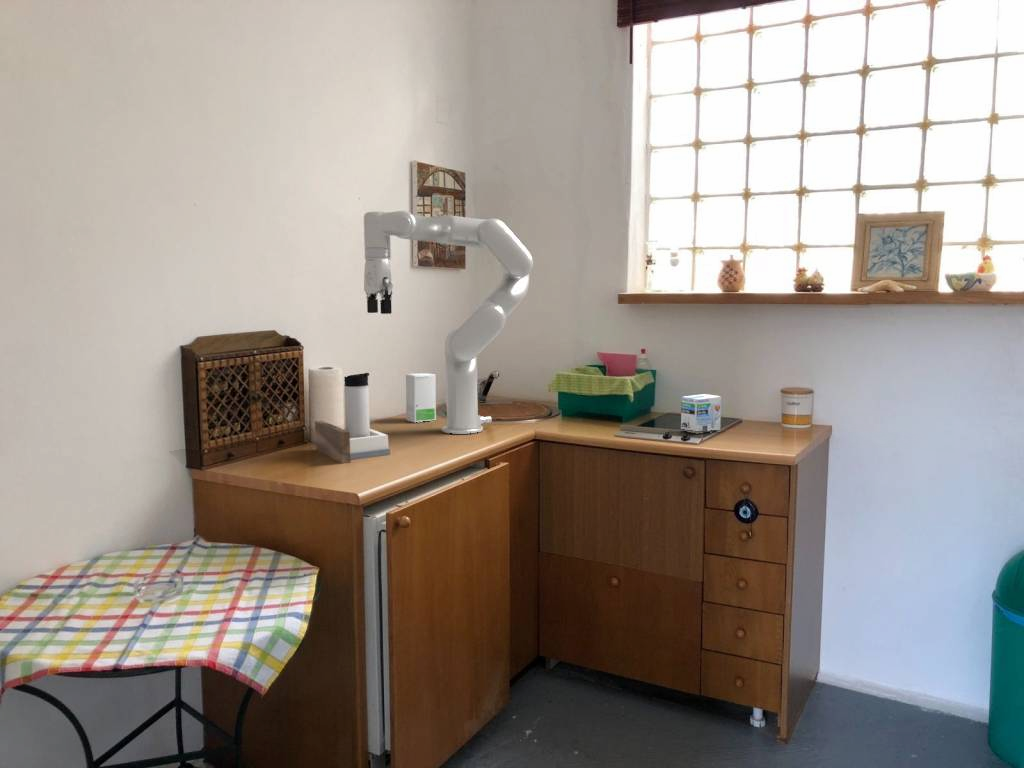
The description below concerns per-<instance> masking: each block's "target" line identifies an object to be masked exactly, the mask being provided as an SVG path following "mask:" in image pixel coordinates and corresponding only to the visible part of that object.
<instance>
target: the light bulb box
mask: <svg viewBox="0 0 1024 768" xmlns="http://www.w3.org/2000/svg"><path fill="white" fill-rule="evenodd" d="M680 411H681V412H680V413H681V414H680V415H681V416H680V418H681V419H680V420H681V421H680V430H681V429H685V430H693V431H710V430H720V431H721V421H722V419H721V417H722V416H721V414H722V413H721V412H722V396H720V395H715V394H714V395H713V394H707V393H703V394H693V395H685V396H681V410H680Z"/></svg>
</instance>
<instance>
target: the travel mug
mask: <svg viewBox="0 0 1024 768" xmlns="http://www.w3.org/2000/svg"><path fill="white" fill-rule="evenodd" d="M369 377H370V373H369V372H365V373H357V374H351V375H347V376H344V380H343V381H344V386H343V387H344V388H343V389H344V411H345V412H344V414H345V415H344V421H345V430H346V431H349V434H350V439H351V438H359V437H368V436H370V429H371V428H370V427H371V426H370V424H371V423H370V397H369V396H370V395H369V391H370V390H369Z"/></svg>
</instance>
